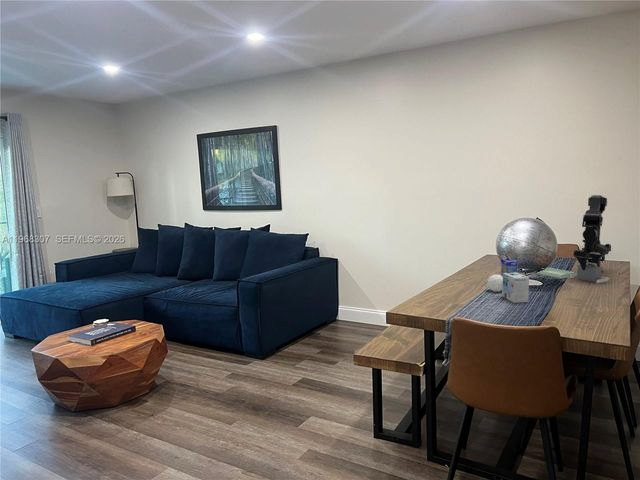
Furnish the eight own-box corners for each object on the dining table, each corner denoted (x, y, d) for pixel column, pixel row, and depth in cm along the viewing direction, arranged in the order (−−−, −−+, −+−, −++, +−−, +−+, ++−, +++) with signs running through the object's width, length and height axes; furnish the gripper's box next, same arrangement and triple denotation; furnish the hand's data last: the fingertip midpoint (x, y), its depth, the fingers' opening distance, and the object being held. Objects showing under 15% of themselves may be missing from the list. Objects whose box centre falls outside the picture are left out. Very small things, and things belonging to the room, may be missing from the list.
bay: (581, 275, 240) (581, 272, 240) (609, 280, 228) (609, 277, 228) (570, 278, 236) (570, 275, 235) (597, 283, 223) (597, 280, 223)
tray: (548, 271, 253) (548, 267, 253) (574, 276, 240) (574, 272, 239) (535, 273, 248) (535, 269, 247) (561, 278, 235) (561, 274, 234)
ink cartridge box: (499, 281, 231) (500, 253, 229) (511, 281, 231) (512, 253, 229) (505, 286, 222) (506, 256, 220) (517, 286, 221) (518, 256, 219)
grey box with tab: (583, 277, 237) (584, 260, 235) (600, 280, 229) (601, 263, 228) (577, 278, 234) (578, 261, 233) (594, 282, 226) (595, 264, 225)
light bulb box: (501, 296, 204) (502, 272, 203) (516, 295, 205) (516, 271, 203) (513, 303, 194) (514, 277, 192) (529, 302, 194) (529, 277, 193)
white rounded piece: (491, 280, 220) (517, 286, 213) (485, 292, 216) (511, 299, 209) (490, 269, 215) (517, 275, 208) (483, 281, 211) (510, 288, 204)
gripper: (596, 241, 217) (594, 274, 220) (619, 238, 226) (617, 269, 228) (573, 239, 227) (571, 270, 229) (596, 235, 236) (594, 266, 238)
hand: (589, 269), depth 231 cm, fingers open, 9 cm apart
